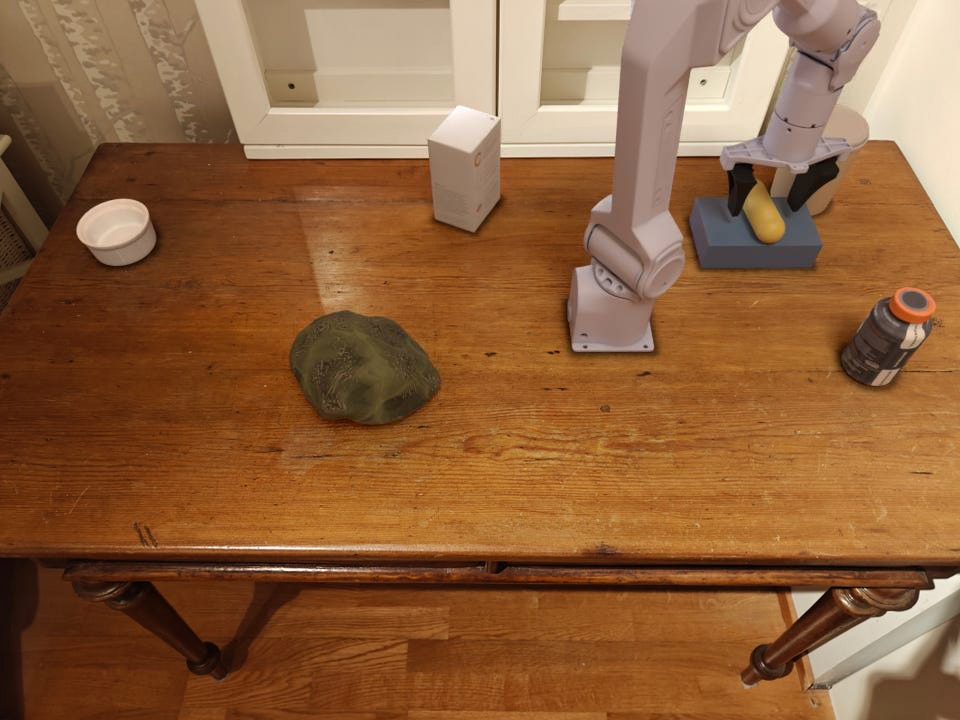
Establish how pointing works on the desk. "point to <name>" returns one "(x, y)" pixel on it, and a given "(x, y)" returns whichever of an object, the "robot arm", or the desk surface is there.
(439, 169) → the small box
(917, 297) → the pill bottle
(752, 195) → the yellow capsule pill
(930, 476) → the desk surface
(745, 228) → the block
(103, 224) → the ramekin
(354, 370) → the decorative rock
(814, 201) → the coffee cup
